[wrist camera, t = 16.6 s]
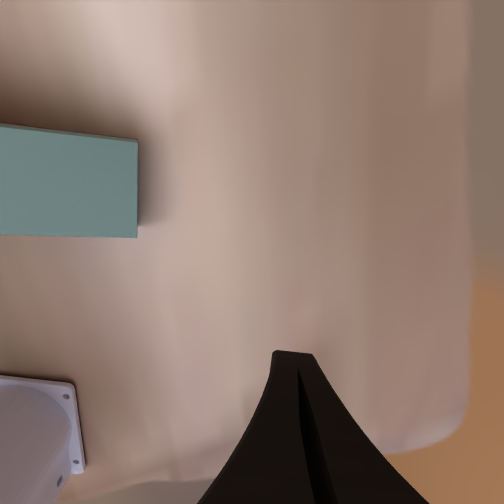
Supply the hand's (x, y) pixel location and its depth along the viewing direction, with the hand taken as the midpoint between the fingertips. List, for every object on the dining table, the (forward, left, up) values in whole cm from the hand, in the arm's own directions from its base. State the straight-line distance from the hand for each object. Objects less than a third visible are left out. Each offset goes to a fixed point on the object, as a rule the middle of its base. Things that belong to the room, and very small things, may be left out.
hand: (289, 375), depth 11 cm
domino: (+4, +8, -8) cm, 13 cm away
